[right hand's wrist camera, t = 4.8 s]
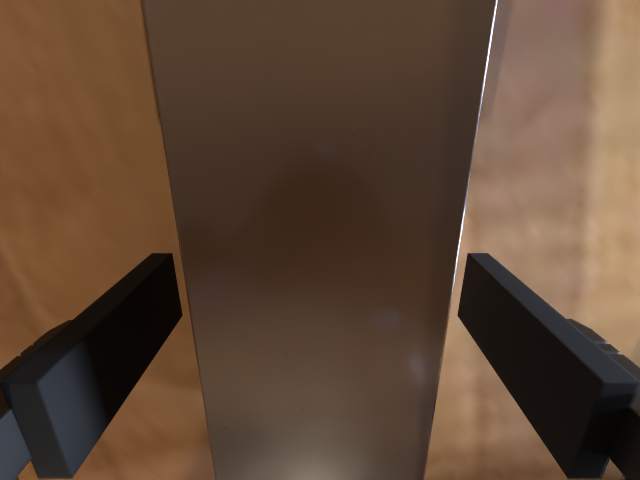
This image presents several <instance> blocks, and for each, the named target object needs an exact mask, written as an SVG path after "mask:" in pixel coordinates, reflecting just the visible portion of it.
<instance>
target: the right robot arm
mask: <svg viewBox="0 0 640 480" xmlns="http://www.w3.org/2000/svg"><path fill="white" fill-rule="evenodd" d="M181 317H182V310H181V304H180V298H179V292H178V285H177V279H176V273H175V267H174V261H173V255H172V253H152V254H151V255H150V256H148V257H147V258H146V259H145V260H144V261H142V262H141V263H140V264H139V265H138V266H136V267H135V268H134V269H133V270H132V271H130V272H129V273H128V274H127V275H126V276H125V277H123V278H122V279H121V280H120V281H119V282H117V283H116V284H115V285H114V286H113V287H111V288H110V289H109V290H108V291H107V292H106V293H104V294H103V295H102V296H101V297H100V298H98V299H97V300H96V301H95V302H94V303H92V304H91V305H90V306H89V307H88V308H86V309H85V310H84V311H83V312H82V313H81V314H79V315H78V316H77V317H76V318H75V319H73V320H68V321H66V322H65V323H63V324H61V325H59V326H57V327H55V328H53V329H51V330H49V331H48V332H47V333H45V334H44V335H43V336H42V337H40V338H39V339H38V340H37V341H35V342H34V345H31V346H29V347H28V348H27V349H26V350H24V351H23V352H22V353H21V355H20V356H17V357H16V358H14V359H13V360H12V361H11V362H9V363H8V364H7V365H6V366H4V367H3V368H2V369H1V370H0V480H19V479H18V474H19V473H20V472H21V471H22V470H23V468H24V467H25V466H26V465H27V464H28V462H29V461H30V460H31V462H32V464H33V466H34V469H35V471H36V474H37V476H38V478H73V476H74V475H75V473H76V472H77V471H78V469H79V468H80V466H81V465H82V463H83V462H84V460H85V459H86V457H87V456H88V454H89V453H90V451H91V450H92V448H93V447H94V445H95V444H96V442H97V441H98V439H99V438H100V437H101V435H102V434H103V432H104V431H105V429H106V428H107V426H108V425H109V423H110V422H111V420H112V419H113V417H114V416H115V414H116V413H117V411H118V410H119V408H120V407H121V406H122V404H123V403H124V401H125V400H126V398H127V397H128V395H129V394H130V392H131V391H132V389H133V388H134V386H135V385H136V383H137V382H138V380H139V379H140V377H141V376H142V374H143V373H144V372H145V370H146V369H147V367H148V366H149V364H150V363H151V361H152V360H153V358H154V357H155V355H156V354H157V352H158V351H159V349H160V348H161V346H162V345H163V343H164V342H165V341H166V339H167V338H168V336H169V335H170V333H171V332H172V330H173V329H174V327H175V326H176V324H177V323H178V321H179V320H180V318H181ZM458 317H459V318H460V320H461V321H462V323H463V324H464V326H465V327H466V329H467V330H468V332H469V333H470V335H471V336H472V338H473V339H474V341H475V342H476V343H477V345H478V346H479V348H480V349H481V351H482V352H483V354H484V355H485V357H486V358H487V360H488V361H489V363H490V364H491V366H492V367H493V369H494V370H495V372H496V373H497V375H498V376H499V377H500V379H501V380H502V382H503V383H504V385H505V386H506V388H507V389H508V391H509V392H510V394H511V395H512V397H513V398H514V400H515V401H516V403H517V404H518V406H519V407H520V408H521V410H522V411H523V413H524V414H525V416H526V417H527V419H528V420H529V422H530V423H531V425H532V426H533V428H534V429H535V431H536V432H537V434H538V435H539V437H540V438H541V440H542V441H543V442H544V444H545V445H546V447H547V448H548V450H549V451H550V453H551V454H552V456H553V457H554V459H555V460H556V462H557V463H558V465H559V466H560V468H561V469H562V471H563V472H564V473H565V475H566V476H567V478H602V476H603V474H604V471H605V469H606V466H607V464H608V462H609V459H611V460H612V462H613V463H614V464H615V465H616V466H617V468H618V469H619V470H620V471H621V472H622V474H623V476H622V479H621V480H640V368H639V367H638V366H637V365H635V364H634V363H633V362H632V361H630V360H629V359H628V358H627V357H625V356H624V355H620V352H619V351H618V350H617V349H615V348H614V347H613V346H612V345H610V344H607V341H605V340H604V339H603V338H602V337H600V336H599V335H598V334H597V333H595V332H594V331H593V330H592V329H590V328H588V327H586V326H584V325H582V324H580V323H578V322H576V321H574V320H572V319H565V318H564V317H563V316H562V315H561V314H559V313H558V312H557V311H556V310H555V309H554V308H552V307H551V306H550V305H549V304H548V303H546V302H545V301H544V300H543V299H542V298H540V297H539V296H538V295H537V294H536V293H534V292H533V291H532V290H531V289H530V288H529V287H527V286H526V285H525V284H524V283H523V282H521V281H520V280H519V279H518V278H517V277H515V276H514V275H513V274H512V273H511V272H509V271H508V270H507V269H506V268H505V267H504V266H502V265H501V264H500V263H499V262H498V261H496V260H495V259H494V258H493V257H492V256H490V255H489V254H488V253H468V255H467V261H466V267H465V273H464V279H463V285H462V291H461V298H460V304H459V310H458Z"/></svg>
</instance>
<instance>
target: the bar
mask: <svg viewBox="0 0 640 480" xmlns="http://www.w3.org/2000/svg"><path fill="white" fill-rule="evenodd" d="M497 1H498V0H142V6H143V12H144V19H145V25H146V32H147V38H148V45H149V51H150V57H151V64H152V70H153V77H154V83H155V90H156V96H157V103H158V109H159V116H160V122H161V129H162V135H163V142H164V148H165V155H166V161H167V168H168V174H169V180H170V187H171V193H172V200H173V206H174V213H175V219H176V226H177V232H178V239H179V245H180V252H181V258H182V265H183V271H184V278H185V284H186V290H187V297H188V303H189V310H190V316H191V323H192V329H193V336H194V342H195V349H196V355H197V362H198V368H199V375H200V381H201V388H202V394H203V400H204V407H205V413H206V420H207V426H208V433H209V439H210V446H211V452H212V459H213V465H214V472H215V478H216V480H424V475H425V469H426V462H427V456H428V449H429V443H430V436H431V430H432V423H433V417H434V410H435V404H436V397H437V391H438V384H439V378H440V371H441V365H442V358H443V352H444V345H445V339H446V332H447V326H448V319H449V313H450V306H451V300H452V293H453V287H454V280H455V274H456V267H457V261H458V254H459V248H460V241H461V235H462V228H463V222H464V215H465V209H466V202H467V196H468V189H469V183H470V176H471V170H472V163H473V157H474V150H475V144H476V137H477V131H478V124H479V118H480V111H481V105H482V98H483V92H484V85H485V79H486V72H487V66H488V59H489V53H490V46H491V40H492V33H493V27H494V20H495V14H496V7H497Z"/></svg>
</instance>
